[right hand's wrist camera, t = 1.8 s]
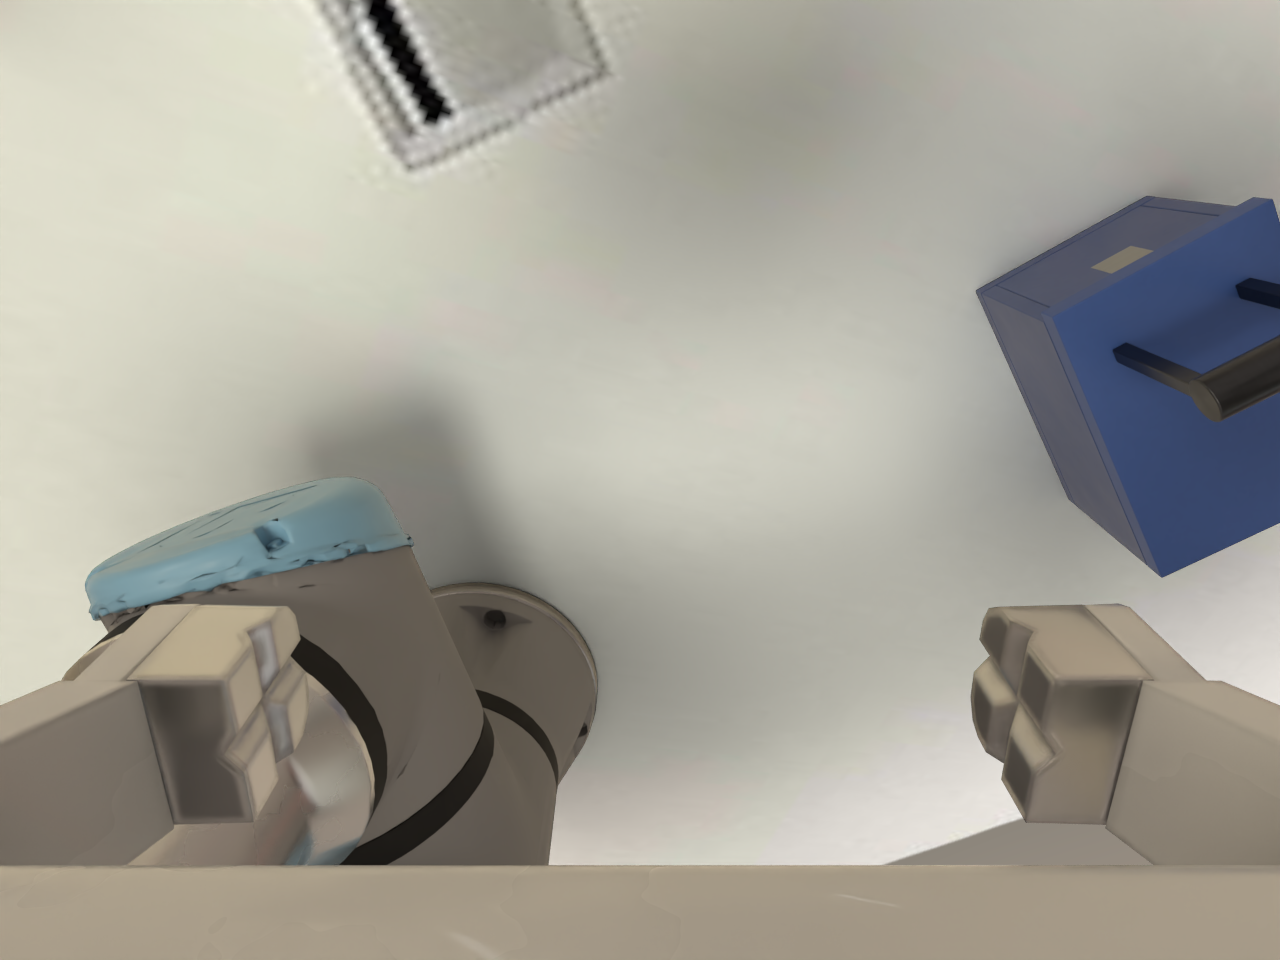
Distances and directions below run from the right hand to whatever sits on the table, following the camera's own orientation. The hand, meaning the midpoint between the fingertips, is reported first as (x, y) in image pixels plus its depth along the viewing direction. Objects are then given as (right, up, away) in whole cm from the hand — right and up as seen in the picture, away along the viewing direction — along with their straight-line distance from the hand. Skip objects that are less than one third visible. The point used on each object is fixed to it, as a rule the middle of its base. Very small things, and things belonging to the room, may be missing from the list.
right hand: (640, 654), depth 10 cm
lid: (+26, +6, +31) cm, 41 cm away
